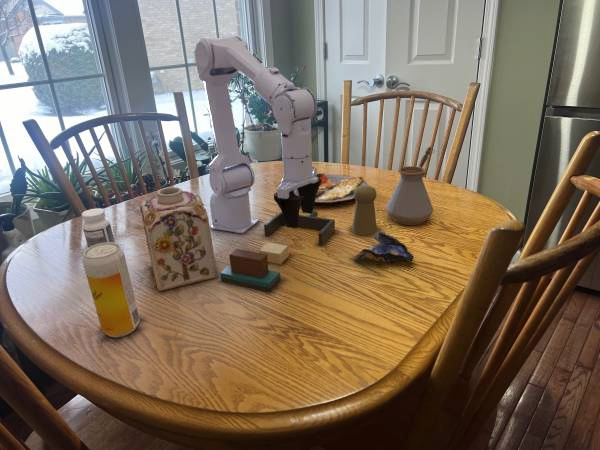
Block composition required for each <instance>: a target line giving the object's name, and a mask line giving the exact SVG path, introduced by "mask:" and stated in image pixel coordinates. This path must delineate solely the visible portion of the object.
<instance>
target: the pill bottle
mask: <svg viewBox="0 0 600 450" xmlns="http://www.w3.org/2000/svg"><path fill="white" fill-rule="evenodd" d="M81 219H82V221H83V223H82V230H83V235H84V237H85V241H86V246H87V248H89V247H91V246H93V245H96V244H99V243H105V242H114V243H116V240H115V237H114V232H113V230H112V226H111V222H110V219H109V218H107V217H106V212H105V209H104V208H99V207H97V208H90V209H87V210H85V211H83V212H82V213H81Z"/></svg>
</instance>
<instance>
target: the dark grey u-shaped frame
mask: <svg viewBox="0 0 600 450" xmlns="http://www.w3.org/2000/svg"><path fill="white" fill-rule="evenodd" d="M282 225H285V226H287V225H286V222H285V219H284V216H283V214H282V211H279V212H278V213H276V214H275V215H274V216H273V217H272V218H270V219H269V220H268V221H267V222H265V223H264V224H263V230H264V236H265V237H269V236H270V235H271V234H272V233H273V232H275V231H276V230H277V229H278V228H279V227H281V226H282ZM297 228H305V229H312V230H317V231H318V230H319V232H318V246H323V245H324V244H325V243H326V241H327V240H329V238H330V237H331V236H332V235H333V233H335V231H336V219H334V218H326V217H319V212H318V211H317V210H313V212H312V214H309V213H308V214H307V215H306V214H299V223H298V227H297Z"/></svg>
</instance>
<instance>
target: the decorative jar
mask: <svg viewBox="0 0 600 450" xmlns="http://www.w3.org/2000/svg"><path fill="white" fill-rule="evenodd" d="M204 205H205V204H204V203H203V200H202V198H201V196H200V195H199V194H198V193H197V192H196V193H195V192H192V191H187V190H183V189H182V188H180V187H178V186H177V187H175V186H169V187H167V186H166V187H164V188H161V189H158V190H157V192H156V194H155V195H152V196H151V197H149V198H146V199H145V200H144V201H142V202H140V206H139V211H140V213H141V219H142V220H141V221H142V224H143V229H144V234H145V240H146V244H147V245H146V246H147V249H148V254H149V258H150V262H151V267H152V271H153V276H154V279H155V283H156V287H157V289H158V291H159V292H164V291H166V290H170V289H175V288H179V287H182V286H187V285H191V284H195V283H199V282H203V281H208V280H212V279H216V278H217V276H218V275H217V268H216V267H217V266H216V260H215V251H214V245H213V240H212V233H211V226H210V219H209V216H208V212H207V209H206V208H205V207H204Z"/></svg>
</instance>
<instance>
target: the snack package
mask: <svg viewBox="0 0 600 450" xmlns="http://www.w3.org/2000/svg"><path fill="white" fill-rule="evenodd" d="M373 239H374V240H375V241H376V242H378V243H377V244H375V245H371V246H370V247H369V248H363V249H362V250H361V251H359V253H357V254H355V255H352V258H353V259H354V261H355V262H357V260H358V259H363V260H370V261H379V262H395V261H400V260H405V261H409V262H413V260H414V258H415V257H414V255H413V253H411V252H410V251H408V248H407V246H406V245H405V244H404V243H403V242H401V241H400V240H398V239H397V238H396V237H394V236H393V235H390V234H387V233H386V232H381V231H380V230H377V232H376V233H375V234H373Z"/></svg>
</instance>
